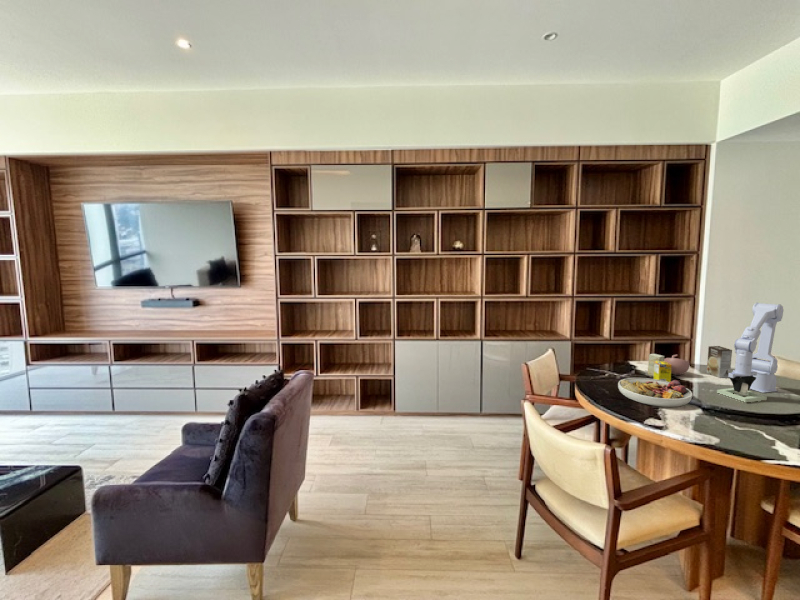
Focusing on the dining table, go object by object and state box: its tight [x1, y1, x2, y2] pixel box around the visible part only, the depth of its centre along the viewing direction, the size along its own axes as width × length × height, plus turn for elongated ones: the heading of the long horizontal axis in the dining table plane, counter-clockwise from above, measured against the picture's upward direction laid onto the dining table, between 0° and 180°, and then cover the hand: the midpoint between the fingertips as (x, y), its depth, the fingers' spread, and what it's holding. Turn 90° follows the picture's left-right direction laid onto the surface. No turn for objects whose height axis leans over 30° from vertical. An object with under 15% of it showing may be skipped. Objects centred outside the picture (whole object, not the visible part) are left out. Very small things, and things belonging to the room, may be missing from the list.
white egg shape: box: [734, 383, 748, 396], centre depth 178 cm, size 5×5×5 cm
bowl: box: [617, 377, 693, 408], centre depth 181 cm, size 30×30×8 cm
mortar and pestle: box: [664, 354, 690, 376], centre depth 213 cm, size 12×12×11 cm
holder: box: [716, 387, 768, 402], centre depth 178 cm, size 13×13×2 cm
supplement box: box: [653, 361, 672, 382], centre depth 201 cm, size 6×6×11 cm
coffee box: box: [706, 345, 733, 379], centre depth 209 cm, size 9×6×16 cm
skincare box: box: [647, 353, 665, 377], centre depth 211 cm, size 6×4×12 cm
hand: (741, 390), depth 178 cm, fingers closed on white egg shape, 5 cm apart
